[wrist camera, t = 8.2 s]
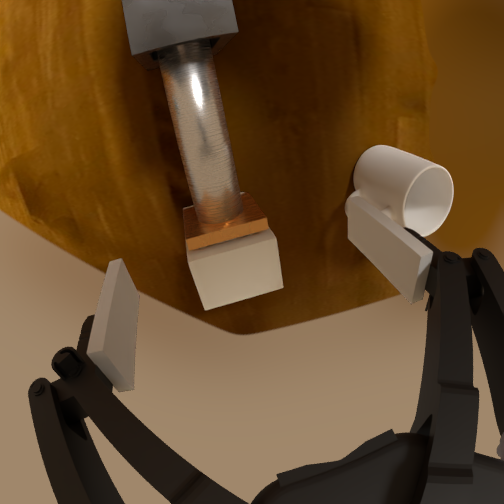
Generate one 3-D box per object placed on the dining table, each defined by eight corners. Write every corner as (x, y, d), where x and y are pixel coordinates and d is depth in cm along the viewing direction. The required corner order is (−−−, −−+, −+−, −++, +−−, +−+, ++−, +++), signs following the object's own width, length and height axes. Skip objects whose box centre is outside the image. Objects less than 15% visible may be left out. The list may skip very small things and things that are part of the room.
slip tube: (142, 45, 19) (131, 29, 14) (215, 28, 20) (228, 8, 15) (193, 245, 30) (199, 281, 24) (254, 228, 30) (273, 260, 25)
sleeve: (132, -10, 19) (114, -55, 9) (200, -26, 19) (214, -75, 10) (147, 70, 24) (131, 55, 15) (216, 54, 25) (238, 32, 15)
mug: (337, 226, 38) (381, 268, 30) (317, 172, 34) (365, 203, 25) (404, 187, 38) (455, 216, 29) (392, 134, 33) (449, 153, 25)
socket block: (182, 208, 32) (187, 262, 22) (244, 191, 33) (276, 237, 23) (194, 246, 35) (204, 310, 25) (251, 230, 35) (283, 287, 26)
